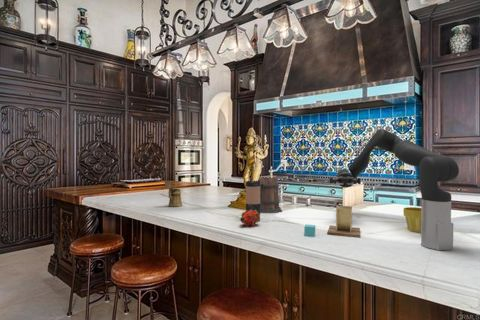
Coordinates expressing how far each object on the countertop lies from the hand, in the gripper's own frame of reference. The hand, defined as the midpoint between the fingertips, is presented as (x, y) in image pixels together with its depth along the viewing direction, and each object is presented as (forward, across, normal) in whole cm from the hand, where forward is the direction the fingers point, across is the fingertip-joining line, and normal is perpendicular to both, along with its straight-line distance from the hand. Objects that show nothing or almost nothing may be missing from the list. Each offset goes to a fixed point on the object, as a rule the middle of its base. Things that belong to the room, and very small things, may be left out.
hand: (344, 181), depth 141 cm
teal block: (+20, -13, +22) cm, 32 cm away
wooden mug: (-19, -106, +20) cm, 110 cm away
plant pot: (-4, +30, +22) cm, 37 cm away
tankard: (-24, -45, +21) cm, 55 cm away
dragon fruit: (+13, -42, +22) cm, 49 cm away
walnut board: (+10, 0, +21) cm, 24 cm away
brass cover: (+10, 0, +20) cm, 23 cm away
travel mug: (0, -45, +21) cm, 50 cm away
